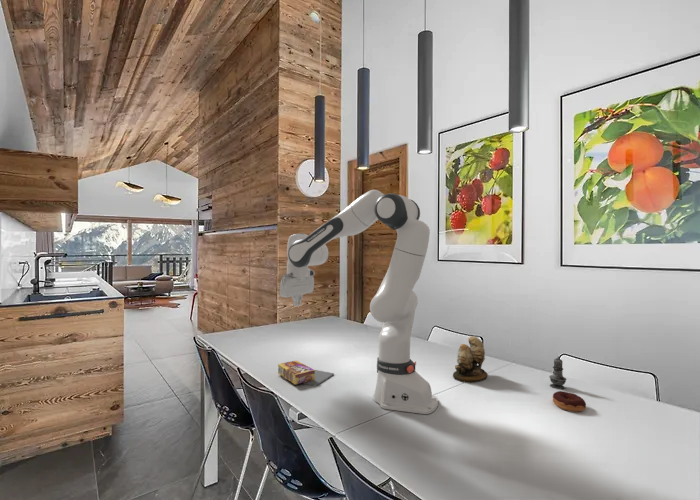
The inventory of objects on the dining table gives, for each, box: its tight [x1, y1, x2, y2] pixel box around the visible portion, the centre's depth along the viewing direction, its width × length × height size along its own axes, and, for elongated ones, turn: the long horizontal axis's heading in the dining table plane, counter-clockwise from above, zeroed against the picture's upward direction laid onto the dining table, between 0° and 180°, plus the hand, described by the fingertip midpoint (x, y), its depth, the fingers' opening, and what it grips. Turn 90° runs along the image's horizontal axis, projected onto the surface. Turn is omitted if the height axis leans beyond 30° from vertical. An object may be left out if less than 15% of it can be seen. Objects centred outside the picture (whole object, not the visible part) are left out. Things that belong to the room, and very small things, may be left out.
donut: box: [552, 390, 587, 413], centre depth 125 cm, size 10×10×4 cm
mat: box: [281, 369, 335, 387], centre depth 150 cm, size 16×14×1 cm
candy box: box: [277, 360, 316, 385], centre depth 147 cm, size 9×4×15 cm
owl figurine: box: [452, 335, 488, 384], centre depth 153 cm, size 18×12×17 cm, turn 132°
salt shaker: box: [548, 356, 567, 391], centre depth 142 cm, size 6×6×12 cm
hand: (297, 305), depth 152 cm, fingers closed
